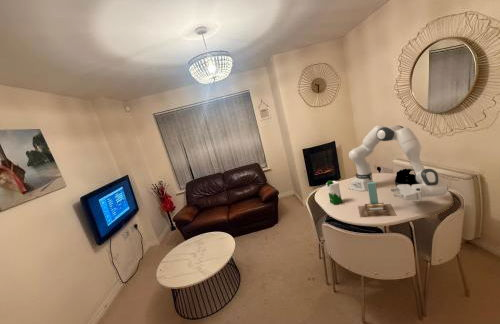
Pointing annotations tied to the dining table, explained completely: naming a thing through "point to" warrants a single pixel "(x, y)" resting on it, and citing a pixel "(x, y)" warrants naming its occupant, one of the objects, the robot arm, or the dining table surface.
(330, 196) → the milk carton
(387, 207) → the offcut rack
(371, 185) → the teal slat
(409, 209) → the dining table surface
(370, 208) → the grey offcut
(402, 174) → the coal bowl
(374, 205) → the oak offcut
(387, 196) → the dining table surface
